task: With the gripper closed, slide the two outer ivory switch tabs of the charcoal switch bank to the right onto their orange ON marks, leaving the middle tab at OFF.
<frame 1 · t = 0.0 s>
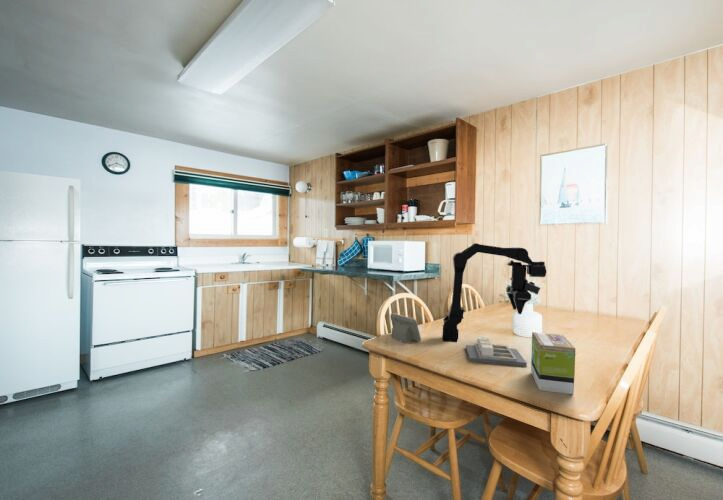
hand: (517, 311, 153), 15 cm above the table, fingers open, 9 cm apart
tab C: (483, 343, 143), point 4 cm above the table, slide at 0.0 cm
tab B: (484, 347, 138), point 4 cm above the table, slide at 0.0 cm
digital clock: (404, 339, 159), on the table
tab A: (486, 351, 133), point 4 cm above the table, slide at 0.0 cm
tea box: (550, 383, 114), on the table
switch bank: (493, 356, 138), on the table
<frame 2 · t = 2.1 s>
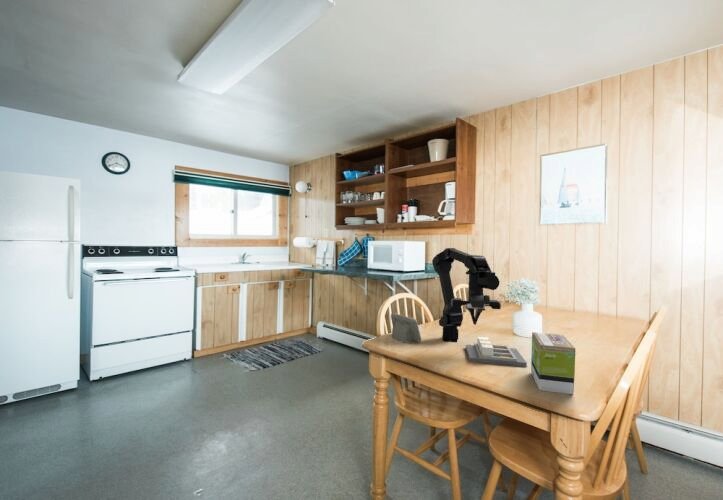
hand: (474, 324, 143), 11 cm above the table, fingers closed
nothing on the table moved.
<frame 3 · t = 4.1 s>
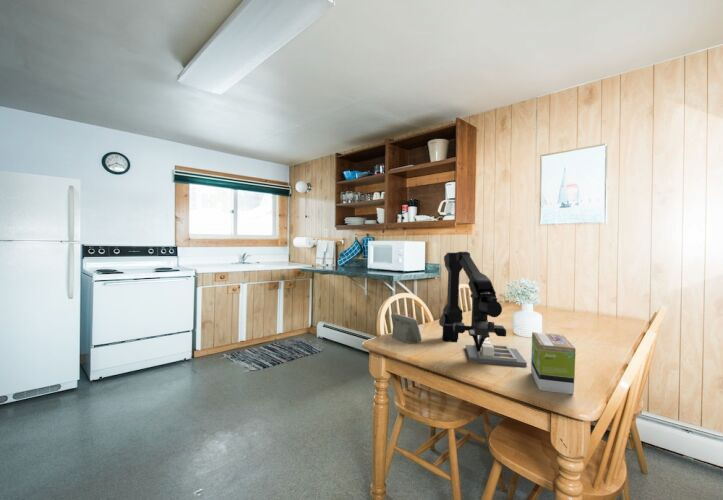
hand: (478, 351, 134), 3 cm above the table, fingers closed
tab A: (487, 351, 133), point 4 cm above the table, slide at 0.3 cm, touching gripper
everything else where it was.
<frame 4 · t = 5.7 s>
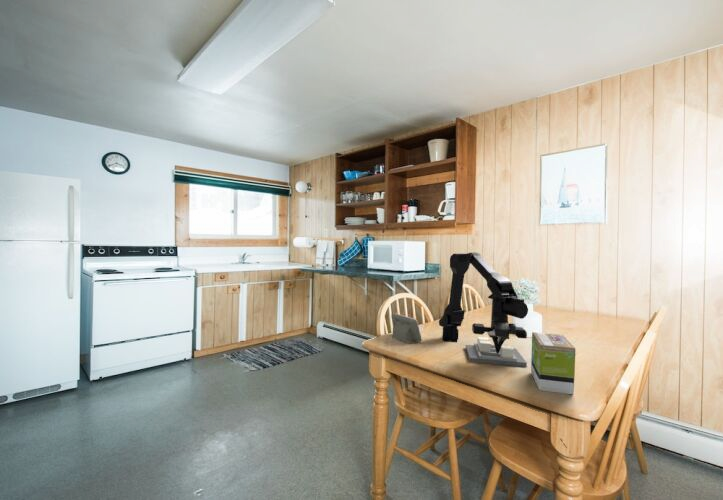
hand: (497, 353, 132), 3 cm above the table, fingers closed
tab A: (506, 352, 132), point 4 cm above the table, slide at 7.2 cm, touching gripper
everything else where it was.
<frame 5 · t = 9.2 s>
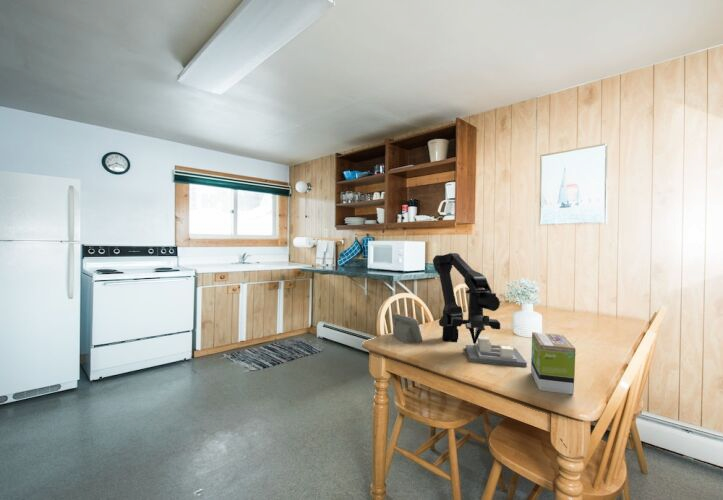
hand: (474, 343, 144), 3 cm above the table, fingers closed
tab C: (483, 343, 143), point 4 cm above the table, slide at 0.1 cm, touching gripper
tab A: (506, 352, 132), point 4 cm above the table, slide at 7.1 cm
everything else where it was.
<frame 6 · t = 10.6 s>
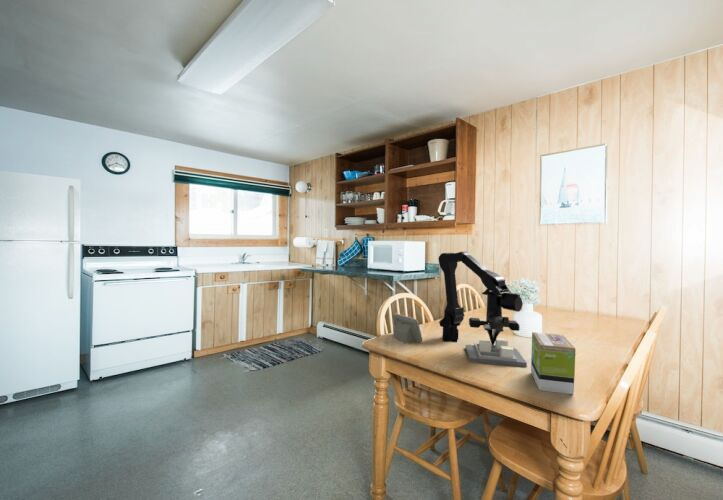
hand: (492, 344, 142), 3 cm above the table, fingers closed
tab C: (501, 344, 142), point 4 cm above the table, slide at 7.1 cm, touching gripper
everything else where it was.
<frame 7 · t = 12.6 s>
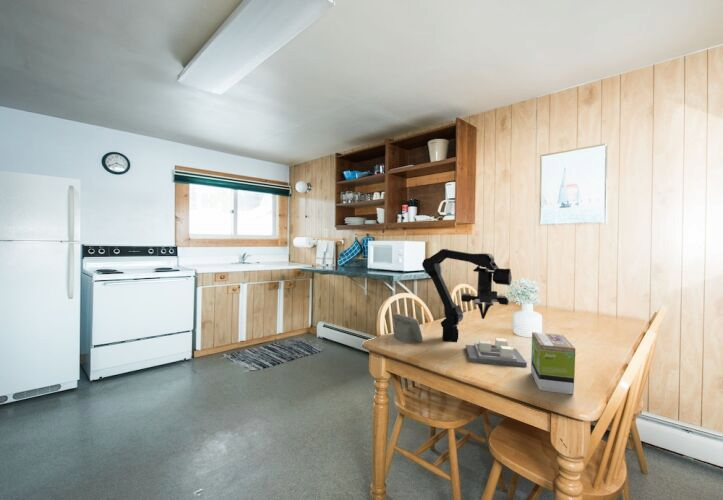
hand: (482, 318, 151), 12 cm above the table, fingers closed
tab C: (501, 344, 142), point 4 cm above the table, slide at 7.1 cm
everything else where it was.
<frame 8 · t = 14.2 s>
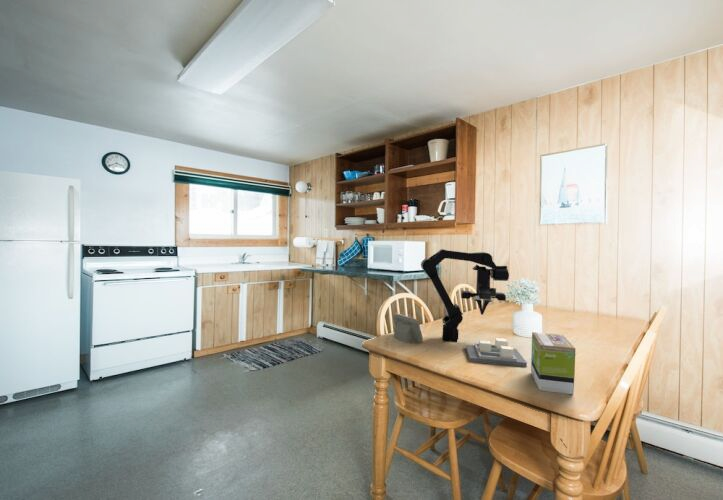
hand: (481, 314, 158), 12 cm above the table, fingers closed
at the end: tab A slide at 7.1 cm; tab C slide at 7.1 cm; tab B slide at 0.0 cm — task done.
